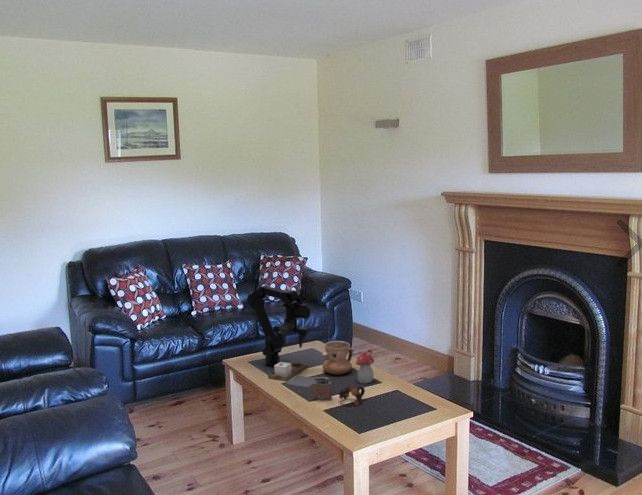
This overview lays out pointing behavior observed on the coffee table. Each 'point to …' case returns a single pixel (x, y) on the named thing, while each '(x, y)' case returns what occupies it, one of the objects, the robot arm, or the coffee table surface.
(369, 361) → the decorative ornament
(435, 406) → the coffee table surface
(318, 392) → the lighter
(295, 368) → the tray
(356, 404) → the brown irregular piece
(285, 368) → the letter cube
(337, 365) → the ceramic jug
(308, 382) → the pad
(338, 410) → the coffee table surface
